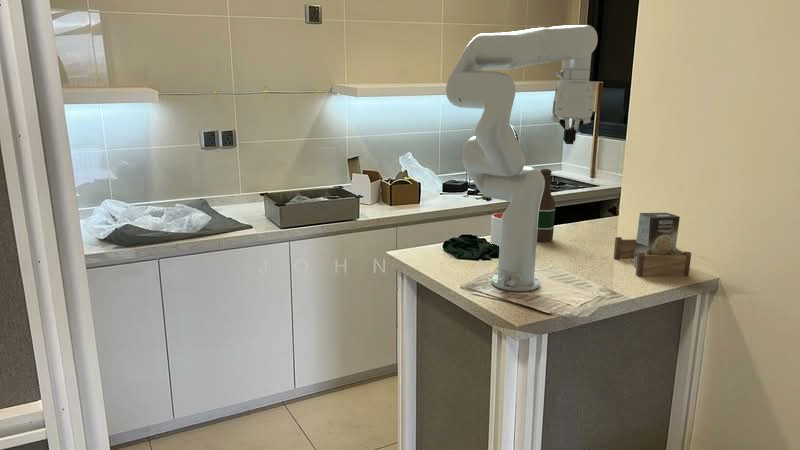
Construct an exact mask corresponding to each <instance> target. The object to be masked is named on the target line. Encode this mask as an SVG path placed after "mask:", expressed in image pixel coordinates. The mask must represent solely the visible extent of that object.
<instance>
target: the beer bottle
mask: <svg viewBox="0 0 800 450" xmlns="http://www.w3.org/2000/svg"><path fill="white" fill-rule="evenodd" d="M539 171H540V172H541V173H542V175H543V176H544V179H545V187H544V192H543V195H542V199H541V203H540V209H539V216H538V230H537V241H538V242H537V243H549V242H548V241H550V242H552V241H553V239H554V238H553V237H554V230H555V229H554V228H555V216H556V215H555V214H556V202H555V198H554V196H553V195H552V193H551V191H552V190H551V186H552V184H551V176H552V175H551V174H552V169H549V168H542V169H540V170H539ZM551 240H552V241H551Z"/></svg>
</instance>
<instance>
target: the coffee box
mask: <svg viewBox="0 0 800 450" xmlns="http://www.w3.org/2000/svg"><path fill="white" fill-rule="evenodd" d="M680 219H681V217H680V216H678V215H676V214H674V213H673V214H672V213H669V212H640V213H639V217H638V224H637V225H638V226H637V233H636V239H637V240H636V248H635V257H634V259H633V264H632V265H633V267H635V268H636V267H637V257H638V252H645V255H675V249H676V248H677V242H678V234H679V233H678V232H679V225H680Z"/></svg>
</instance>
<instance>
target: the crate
mask: <svg viewBox="0 0 800 450" xmlns="http://www.w3.org/2000/svg"><path fill="white" fill-rule="evenodd" d="M614 240H615V241H614V249H613V259H614V260H615V261H616V260H617V261H618V260H619V261H620V260H634V257H635V248H636V240H637V238H636V239H633V238H632V239H629V238H628V239H626V238H625V239H624V238H623V237H621V236H615V238H614ZM691 258H692V252H691V251H684V250H682V249H680V248H678V247H676V249H675V255H645V252H638V257H637V267H635V276H636V277H689V275H690V274H689V273H690V267H691Z"/></svg>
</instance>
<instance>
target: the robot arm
mask: <svg viewBox="0 0 800 450" xmlns="http://www.w3.org/2000/svg"><path fill="white" fill-rule="evenodd" d="M597 45H598V32H597V31H596V29H595V28H594V27H593V26H592V25H589V24H575V25H574V24H573V25H557V26H551V27H537V28H536V27H535V28H529V29H523V30H516V31H507V32H492V33H490V32H489V33H479V34H477V35H476V36H474V37H473V38H472V39H471V40H470V41H469V43H468V44H467V45H466V47H465V49H464V50H463V52H462V53H461V55H460V56H459V59H458V61H457V62H456V64H455V65H454V68H453V69H452V71H451V73H450V75H449V76H448V79H447V82H446V87H445V92H446V93H445V94H446V98H447V100H448V101H449V103H450V104H451V105H453V106H454V107H458V108H463V109H476V110H477V109H479V110H480V109H481V110H483V112H482V114H481V117H480V119H479V121H478V122H477V124H476V127H475V130H474V136H472V137H470V138H469V139H467V141H465V143H464V145H463V147H462V153H461V156H462V165H463V167H464V169H465V171H466V173H467V174H468V176H469V177H470V179H471V180H472V182H473V183H474V185H475V186H476V188H477V190H479V192H480V193H481V194H482V195H483V196H485V197H487V198H491V199H494V200H500V201H505V202H509V205H507V208H506V209H505V210H504V211H503V212H502V213H503V215H502V218H501V228H500V246H499V248H498V251H499V252H498V265H497V267H498V268H497V274H495V275H493V276H492V277H491V284H492V285H493V286H494V287H496V288H498V289H501V290H504V291H511V292H530V290H531V291H534V289H535V290H537V289H538V288H540V286H539V285H541V282H540V279H538V278H537V277H535V273H536V256H537V243H538V242H537V230H538V216H539V209H540V203H541V199H542V195H543V192H544V187H545V179H544V176H543V175H542V173H541V172H540V171H541V170H539V169H537V168H535V167H531V166H529V165H528V166H527V165H526V157H525V153H524V151H523V148H522V147H521V144H520V143H519V141H518V139H517V137H516V135H515V133H514V132H513V130H512V127H511V123H510V120H511V119H510V118H511V114H512V109H513V106H514V101H515V98H516V85H515V81H514V80H513V78H512V77H511V76H510V75H509V74H507V73H505V72H501V71H507V70H508V71H509V70H510V71H511V70H515V69H520V68H521V69H522V68H524V67H529V66H530V67H531V66H534V65H539V64H547V63H548V64H549V63H554V62H560V61H561V69H560V70H558V71H555V77H558V78H559V79H560V80H558V81H557V84H556V88H555V92H554V97H553V104H552V110H551V112H552V117H551V121H552V122H553V123H557V124H559V125H560V126H561V127H562V129H563V137H562V140H563V142H564V144H566V145H574V142H576V138H577V137H576V136H577V130H578V129H579V128H580V127H581V126H583V125H585V124H590V123H591V122H592V121H591V120H592V119H591V118H592V116H593V110H594V109H593V108H594V91H593V81H592V82H591V81H590V74H591V61H592V53H593V52H594V51H595V50H596V48H597ZM491 70H492V71H491ZM570 119H572V122H571V124H570ZM570 125H571V126H570ZM536 288H537V289H536Z"/></svg>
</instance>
